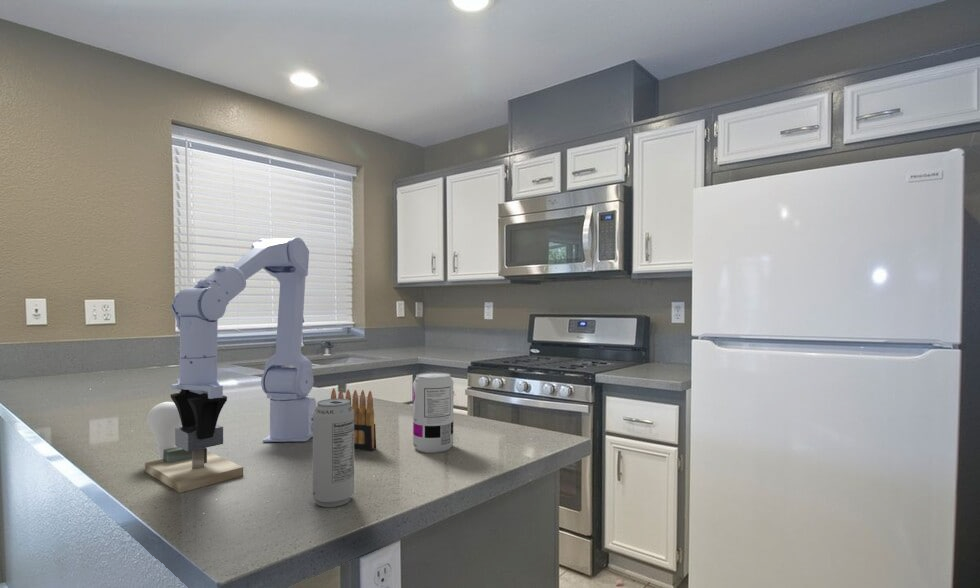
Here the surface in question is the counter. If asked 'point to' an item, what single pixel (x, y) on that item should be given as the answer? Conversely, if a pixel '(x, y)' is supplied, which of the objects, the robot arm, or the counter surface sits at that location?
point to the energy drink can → (333, 452)
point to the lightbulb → (164, 425)
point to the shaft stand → (192, 469)
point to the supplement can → (433, 412)
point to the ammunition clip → (361, 419)
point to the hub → (196, 438)
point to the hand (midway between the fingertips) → (198, 435)
